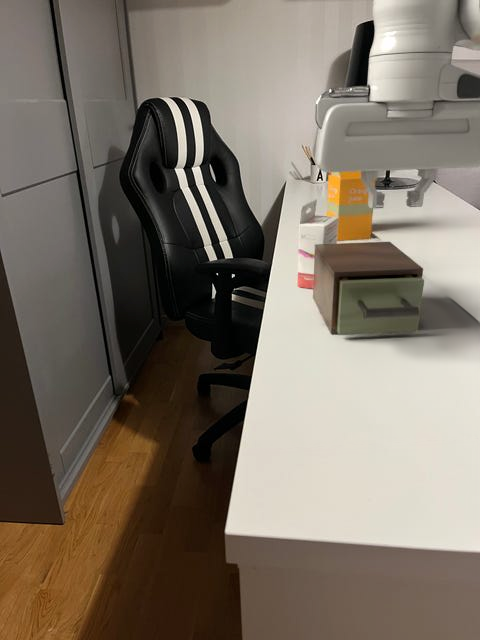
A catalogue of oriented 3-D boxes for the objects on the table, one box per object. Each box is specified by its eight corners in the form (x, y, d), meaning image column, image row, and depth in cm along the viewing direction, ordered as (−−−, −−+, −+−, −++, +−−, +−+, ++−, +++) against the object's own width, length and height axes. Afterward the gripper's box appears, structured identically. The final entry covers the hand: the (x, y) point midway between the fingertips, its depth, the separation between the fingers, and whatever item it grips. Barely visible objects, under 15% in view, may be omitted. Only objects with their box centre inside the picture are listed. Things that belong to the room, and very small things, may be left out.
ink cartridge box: (322, 291, 90) (326, 208, 84) (296, 287, 92) (298, 206, 86) (336, 276, 97) (340, 199, 91) (311, 273, 99) (314, 198, 93)
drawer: (430, 346, 67) (438, 292, 64) (346, 350, 67) (350, 295, 64) (387, 297, 84) (392, 252, 81) (320, 300, 83) (322, 255, 80)
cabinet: (415, 330, 74) (423, 268, 70) (330, 334, 73) (334, 272, 69) (384, 295, 87) (389, 241, 83) (312, 298, 87) (314, 244, 83)
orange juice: (325, 233, 127) (329, 151, 119) (357, 231, 129) (363, 149, 121) (337, 241, 120) (341, 154, 112) (371, 238, 122) (378, 152, 114)
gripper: (321, 86, 54) (317, 215, 59) (508, 81, 54) (486, 209, 60) (311, 87, 59) (307, 205, 65) (480, 83, 60) (462, 199, 66)
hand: (394, 207), depth 62 cm, fingers open, 3 cm apart
